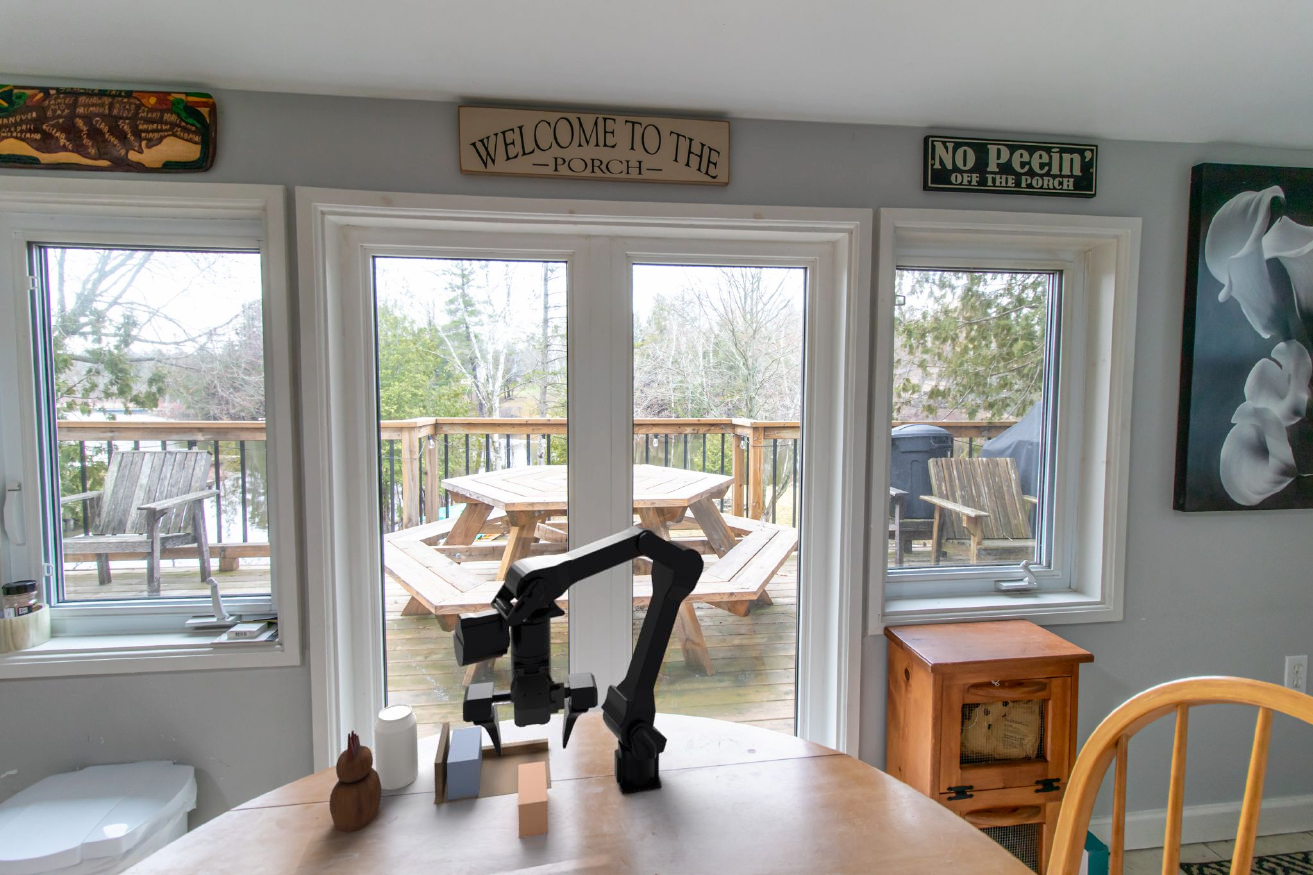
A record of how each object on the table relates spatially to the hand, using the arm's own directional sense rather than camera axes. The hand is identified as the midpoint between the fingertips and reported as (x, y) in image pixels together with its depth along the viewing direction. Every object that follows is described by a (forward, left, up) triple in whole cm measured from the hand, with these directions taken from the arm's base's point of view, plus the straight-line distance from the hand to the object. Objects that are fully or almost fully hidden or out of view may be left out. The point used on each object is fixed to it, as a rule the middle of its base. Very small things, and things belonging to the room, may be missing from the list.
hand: (532, 751), depth 88 cm
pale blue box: (+10, -10, -10) cm, 17 cm away
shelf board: (+6, -10, -11) cm, 16 cm away
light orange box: (0, 0, -11) cm, 11 cm away
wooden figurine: (+25, -4, -11) cm, 28 cm away
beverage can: (+21, -13, -11) cm, 27 cm away
